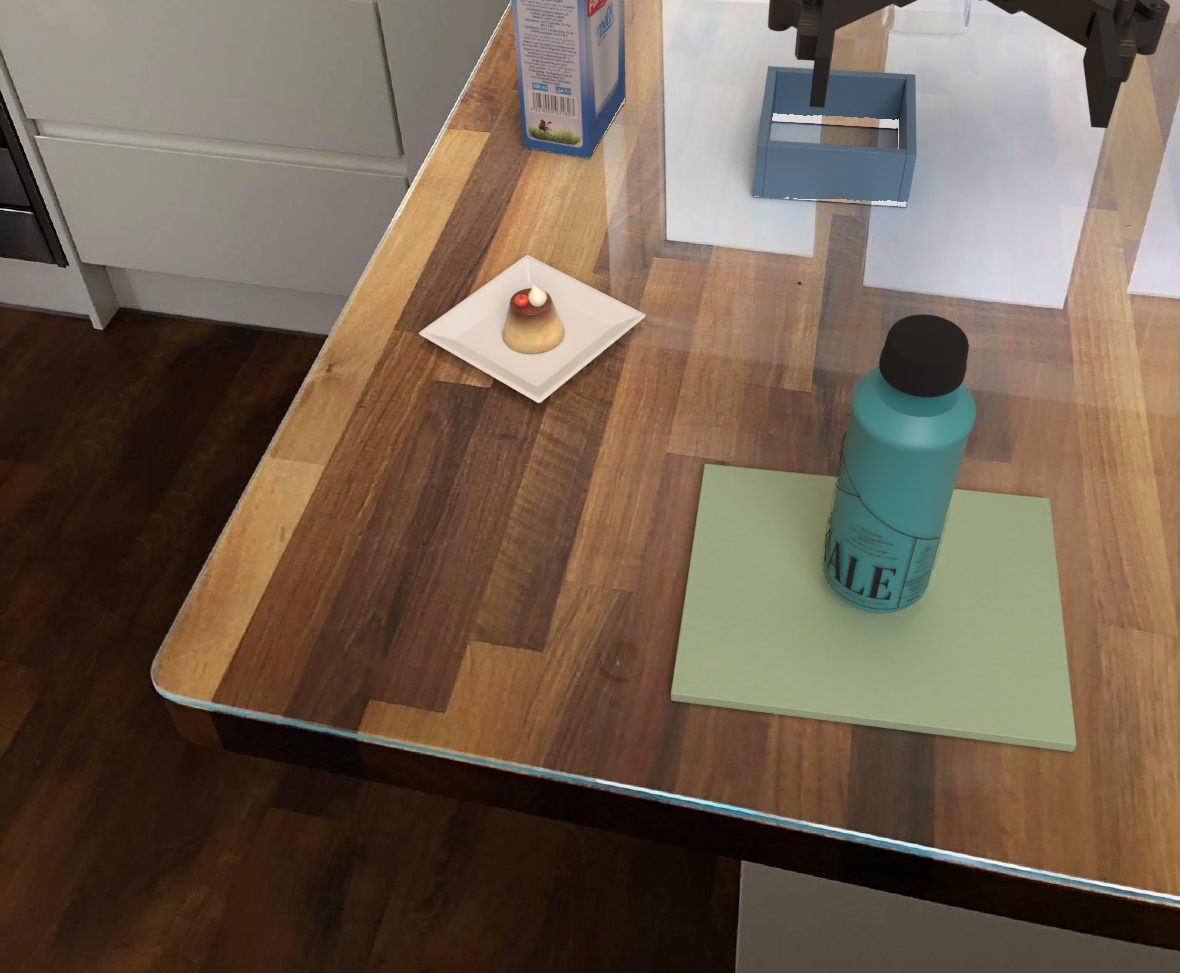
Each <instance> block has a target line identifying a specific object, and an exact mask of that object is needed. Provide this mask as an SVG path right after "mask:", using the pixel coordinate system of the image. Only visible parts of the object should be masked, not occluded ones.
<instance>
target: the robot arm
mask: <svg viewBox="0 0 1180 973" xmlns="http://www.w3.org/2000/svg"><path fill="white" fill-rule="evenodd" d="M768 1H769V2H768V18H767V28H768V29H769V30H770V31H773V32H786V31H788V30H789V29H791V28H794V29H796V37H795V47H794V57H795V58H796V60H797V61H811V62H813V68H812V69H813V77H812V87H811V97H810V106H809V107H821V108H824V107H825V101H826V94H827V87H828V80H829V73H830V70H831V66H832V59H833V51H834V45H835V38H836V37H835V36H836V31H837V30H839V29H841V28H843V27H846V26H848V25H850V24H852V23H854V22H857V21H859V20H861V19H864V18H865V17H867V16H870V15H872V14H875V13H876V12H878V11H880V10H883V9H885V8H887V7H889V6H891V5H894V6H896V7H897V8H900V9H901V8H905V7H906V6H909V5H911V4H912V3H915V2H917V1H918V0H768ZM981 1H982V0H979V2H981ZM986 1H987V2H989V3H990V4H992V5H994V6H995V7H997V8H999V9H1001V10H1003V11H1004V12H1006V13H1007V14H1009V15H1015V14H1019V13H1021V12H1023V13H1024V14H1026V15H1027V16H1030V17H1032V18H1033V19H1035V20H1037V21H1038V22H1041V24H1044V25H1045V26H1046V27H1049V28H1050V29H1052V30H1053V31H1056V32H1057V33H1059V34H1061V35H1062V36H1064V37H1066V38H1067V39H1069V40H1071V41H1073V42H1074V43H1076V44H1078V45H1080V46H1082V47H1084V48H1085V52H1084V55H1083V57H1082V58H1083V59H1082V64H1083V72H1084V80H1085V88H1086V97H1087V106H1088V113H1089V120H1090V121H1089V122H1090V128H1097V129H1098V128H1099V129H1108V128H1109V124H1110V121H1111V118H1112V114H1113V111H1114V108H1115V105H1116V101H1117V98H1118V95H1119V92H1120V89H1121V86H1122V83H1127V81H1128V80H1129V78H1130V76H1131V73H1132V70H1133V67H1134V64H1135V60H1136V58H1137V55H1140V56H1151V55H1154V54H1155V53H1156V51H1157V49H1158V46H1159V43H1160V40H1161V37H1162V34H1163V30H1164V27H1165V24H1166V21H1167V18H1168V15H1169V11H1170V9H1171V5H1170V4H1169V3H1168V2H1167V1H1166V0H986Z"/></svg>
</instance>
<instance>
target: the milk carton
mask: <svg viewBox="0 0 1180 973" xmlns="http://www.w3.org/2000/svg"><path fill="white" fill-rule="evenodd" d="M511 11H512V22H513V34H514V35H513V36H514V47H515V49H514V50H515V58H516V59H515V62H516V71H517V84H518V96H519V109H520V120H521V133H522V145H523V148H524V147H528V148H532V149H531V150H533V148H534V149H538V150H539V149H540V150H544V151H548V152H547V153H550V152H552V153H551V154H556V153H558V154H557V155H561V154H567V155H571V156H570V157H573V156H578V157H577V158H579V157H584V158H586V157H587V158H588V159H587V160H590V159H591V158H592V156H593V155H592V153H593V151H594V149H595V147H596V146H597V144H598V143H599V141H600V140H601V138H602V136H603V135H604V133H605V131H606V130H607V128H608V126H609V124H610V123H611V121H612V119H613V117H614V116H615V113H616V112H617V111H618V109H619V107H620V105H621V103H622V102H623V100H624V98H625V99H626V26H625V24H626V22H625V19H626V18H625V14H626V12H625V0H511ZM601 141H602V140H601ZM538 150H537V151H538ZM544 151H543V152H544ZM549 151H550V152H549ZM593 154H594V153H593ZM567 155H566V156H567ZM591 155H592V156H591ZM590 157H591V158H590ZM584 158H583V159H584Z"/></svg>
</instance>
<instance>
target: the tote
mask: <svg viewBox="0 0 1180 973" xmlns="http://www.w3.org/2000/svg"><path fill="white" fill-rule="evenodd" d="M812 77H813V68H808V67H807V68H806V67H790V66H777V65H776V66H775V65H774V66H772V65H768V66H767V72H766V79H765V86H764V93H763V100H762V106H761V114H760V120H759V126H758V135H757V142H756V152H755V162H754V163H755V164H754V178H753V179H754V180H753V189H752V197H753V196H759V197H762V198H763V197H769V198H768V199H773V198H782V199H781V200H784V199H783V198H786V197H789V199H793V198H797V199H847V200H852V199H853V200H854V201H856V200H860V201H862V200H866V201H879V200H880V201H882V200H883V201H887V200H891V201H897V202H898V201H899V202H904V201H905V202H908V203H909V198H910V193H911V188H912V187H911V186H912V183H913V177H914V173H915V167H916V162H917V161H916V160H917V156H918V155H917V153H918V150H917V149H918V148H917V146H918V144H917V90H916V88H917V87H916V86H917V85H916V83H917V82H916V80H917V79H916V74H914V73H896V72H880V71H878V72H877V71H863V70H861V71H860V70H846V69H845V70H844V69H843V70H842V69H830V73H829V80H828V87H827V94H826V101H825V107H824V108H821V107H809V106H810V97H811V87H812ZM773 113H777V114H787V115H789V114H794V115H803V116H807V115H810V116H813V115H817V116H818V115H823V116H824V115H825V116H843V117H852V118H853V117H858V118H864V117H869V118H876V119H892V120H895V119H897V120H898V119H899V149H897V148H892V147H876V146H864V145H863V146H861V145H845V144H833V143H832V144H830V143H815V142H798V141H786V140H785V141H783V140H771V135H770V133H772V128H771V125H772V126H773V121H772V117H773Z"/></svg>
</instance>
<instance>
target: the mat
mask: <svg viewBox="0 0 1180 973" xmlns="http://www.w3.org/2000/svg"><path fill="white" fill-rule="evenodd" d="M702 471H703V472H702V479H701V485H700V491H699V498H698V505H697V511H696V512H697V513H696V519H695V526H694V534H693V538H692V540H693V541H692V544H691V545H692V546H691V553H690V560H689V565H688V566H689V567H688V573H687V581H686V586H685V592H684V601H683V606H682V613H681V622H680V628H679V634H678V641H677V647H676V655H675V663H674V668H673V676H672V681H671V688H670V701H671V702H677V703H678V702H679V703H687V704H695V705H701V706H703V705H704V706H711V707H718V708H726V709H734V710H740V711H741V710H742V711H750V712H756V713H757V712H758V713H765V714H774V715H780V716H788V717H795V718H805V719H813V720H820V721H828V722H834V723H843V724H851V725H857V726H858V725H859V726H868V727H874V728H883V729H890V730H897V731H905V732H912V733H913V732H915V733H921V734H930V735H937V736H938V735H939V736H944V737H952V738H961V739H968V740H970V739H971V740H975V741H985V742H991V743H992V742H993V743H1000V744H1008V745H1016V746H1022V747H1030V748H1037V749H1038V748H1039V749H1046V750H1055V751H1063V752H1069V753H1070V752H1071V753H1073V752H1074V751H1075V749H1076V747H1077V745H1078V744H1077V743H1078V742H1077V736H1076V727H1075V716H1074V709H1073V699H1072V698H1073V697H1072V689H1071V688H1072V687H1071V679H1070V671H1069V662H1068V661H1069V660H1068V653H1067V652H1068V651H1067V643H1066V634H1065V625H1064V616H1063V607H1062V596H1061V589H1060V580H1059V571H1058V570H1059V569H1058V559H1057V552H1056V544H1055V543H1056V541H1055V535H1054V534H1055V533H1054V524H1053V514H1052V506H1051V499H1050V498H1049V497H1039V496H1029V495H1019V494H1009V493H999V492H991V491H990V492H989V491H980V490H972V489H971V490H970V489H960V488H954V491H953V494H952V497H951V501H950V512H949V508H948V511H947V517H946V521H945V525H944V529H943V532H942V536H941V541H942V542H941V543H939V547H938V551H937V555H936V558H935V562H934V567H935V568H934V569H932V573H931V577H930V581H929V584H928V586H927V589H926V590H925V593H924V594H923V595H922V596H923V597H922V596H921V597H920V598H919V600H918V601H916V602H915V603H914V604H913V605H911V606H909V607H908V608H906V609H903V610H901V611H897V612H893V613H885V614H882V613H871V612H866V611H863V610H860V609H857V608H855V607H853V606H851V605H849V604H847V603H846V602H844V601H843V600H842V599H840V598H839V597H838V596H837V595H836V594H835V593H834V591H833V590H832V588H831V587H830V585H829V583H828V581H827V579H826V577H825V576H826V575H824V574H825V571H824V566H823V563H824V555H825V543H824V540H825V541H826V537H825V535H826V533H827V532H828V530H829V526H830V525H828V526H827V523H828V522H829V521H828V517H830V518H831V517H832V515H831V514H830V513H831V512H832V511H833V505H834V500H835V497H834V496H835V494H836V489H835V488H837V487H836V485H837V484H836V483H837V480H838V476H837V478H836V476H831V475H822V474H812V473H802V472H801V473H800V472H794V471H793V472H791V471H781V470H774V469H773V470H772V469H763V468H762V469H761V468H751V467H744V466H743V467H742V466H732V465H723V464H713V463H704V465H703V470H702ZM835 478H836V479H835ZM835 484H836V485H835ZM834 489H835V490H834ZM833 490H834V491H833ZM833 492H835V493H833ZM833 494H834V496H833ZM833 498H834V499H833ZM831 505H832V506H831ZM830 506H831V507H832V508H831V507H830ZM830 508H831V509H832V511H831V510H830ZM830 511H831V512H830ZM948 515H949V516H948ZM830 518H829V519H830ZM947 519H948V520H947ZM830 521H831V519H830ZM946 522H947V524H946ZM828 524H830V523H828ZM945 526H946V527H945ZM826 529H827V531H826ZM944 530H945V531H944ZM828 534H829V533H828ZM828 534H827V537H828ZM943 534H944V535H943ZM942 537H943V538H942ZM826 545H827V544H826ZM940 545H941V546H940ZM823 546H824V549H823ZM939 548H940V550H939ZM938 552H939V553H938ZM822 556H823V560H822V563H821V558H822ZM937 556H938V557H937ZM936 559H937V561H936ZM935 563H936V564H935ZM822 568H823V569H822ZM823 571H824V572H823Z"/></svg>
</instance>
